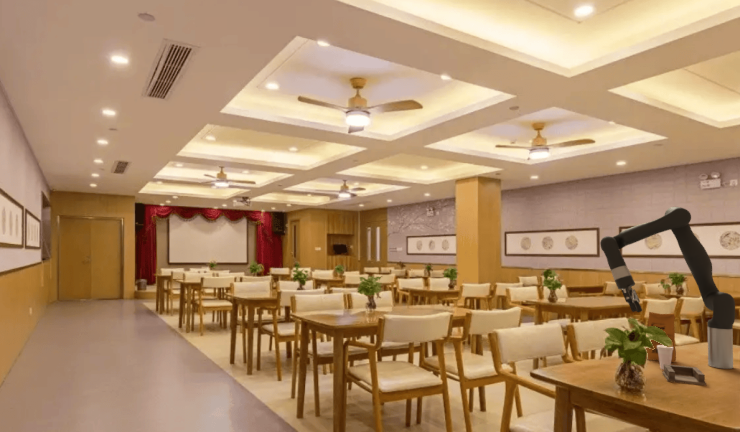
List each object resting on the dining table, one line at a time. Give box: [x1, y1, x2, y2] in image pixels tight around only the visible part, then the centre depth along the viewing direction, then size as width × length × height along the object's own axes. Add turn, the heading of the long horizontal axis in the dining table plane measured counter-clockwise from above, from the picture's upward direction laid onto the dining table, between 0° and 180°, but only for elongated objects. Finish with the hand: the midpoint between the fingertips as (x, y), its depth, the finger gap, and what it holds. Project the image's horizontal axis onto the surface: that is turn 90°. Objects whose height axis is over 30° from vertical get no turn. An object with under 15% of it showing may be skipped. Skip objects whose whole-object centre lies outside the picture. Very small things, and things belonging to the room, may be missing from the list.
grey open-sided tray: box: [661, 364, 707, 386], centre depth 203 cm, size 13×13×4 cm
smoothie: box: [657, 345, 674, 371], centre depth 219 cm, size 6×6×14 cm
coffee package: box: [645, 311, 677, 363], centre depth 237 cm, size 10×12×22 cm
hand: (637, 311), depth 226 cm, fingers open, 8 cm apart
